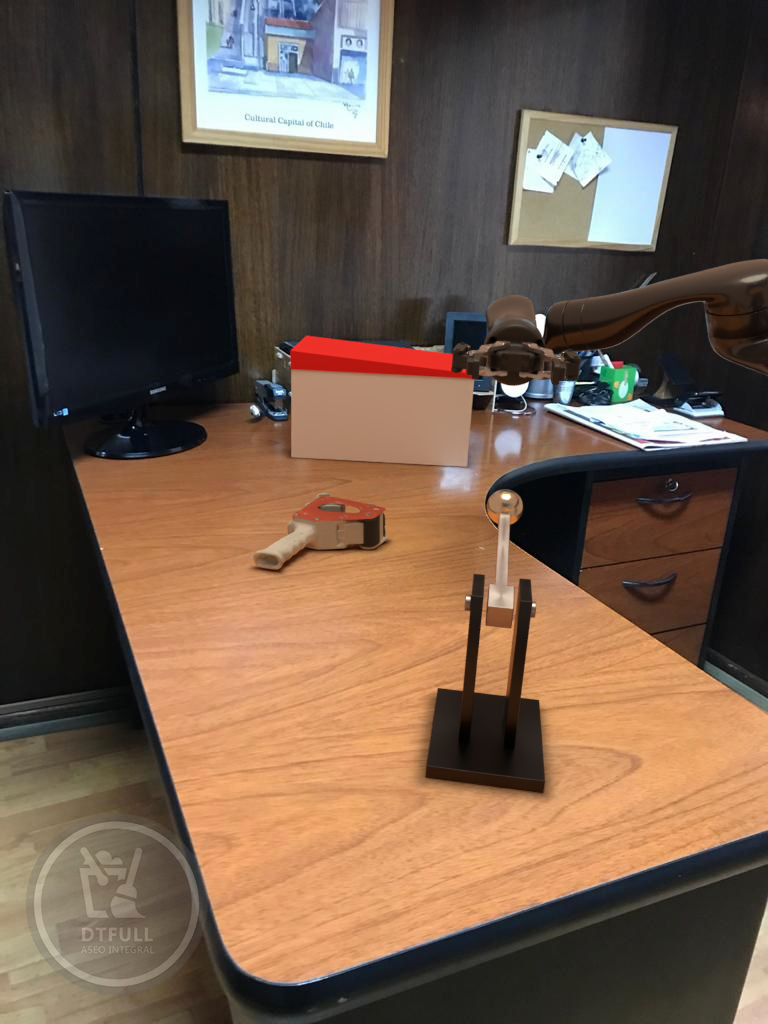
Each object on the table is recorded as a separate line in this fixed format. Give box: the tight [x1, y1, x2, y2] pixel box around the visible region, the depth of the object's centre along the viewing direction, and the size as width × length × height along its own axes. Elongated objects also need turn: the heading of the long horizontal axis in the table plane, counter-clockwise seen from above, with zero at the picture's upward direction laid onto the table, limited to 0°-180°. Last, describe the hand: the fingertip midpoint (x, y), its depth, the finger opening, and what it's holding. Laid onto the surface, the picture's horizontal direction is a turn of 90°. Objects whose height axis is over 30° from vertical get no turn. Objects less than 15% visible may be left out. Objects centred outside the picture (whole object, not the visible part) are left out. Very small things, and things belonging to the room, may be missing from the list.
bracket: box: [425, 573, 546, 793], centre depth 68 cm, size 12×10×16 cm
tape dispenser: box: [252, 492, 388, 570], centre depth 112 cm, size 18×5×20 cm
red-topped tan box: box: [289, 335, 475, 468], centre depth 158 cm, size 21×35×21 cm, turn 87°
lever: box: [485, 488, 524, 629], centre depth 72 cm, size 17×4×4 cm, turn 172°
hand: (515, 372), depth 82 cm, fingers open, 8 cm apart
